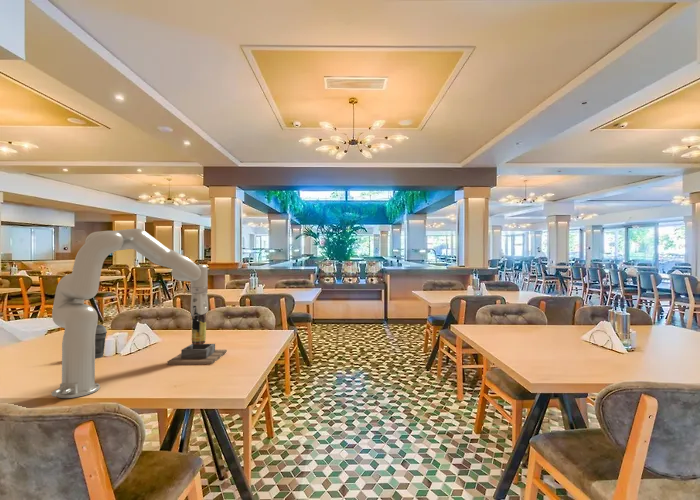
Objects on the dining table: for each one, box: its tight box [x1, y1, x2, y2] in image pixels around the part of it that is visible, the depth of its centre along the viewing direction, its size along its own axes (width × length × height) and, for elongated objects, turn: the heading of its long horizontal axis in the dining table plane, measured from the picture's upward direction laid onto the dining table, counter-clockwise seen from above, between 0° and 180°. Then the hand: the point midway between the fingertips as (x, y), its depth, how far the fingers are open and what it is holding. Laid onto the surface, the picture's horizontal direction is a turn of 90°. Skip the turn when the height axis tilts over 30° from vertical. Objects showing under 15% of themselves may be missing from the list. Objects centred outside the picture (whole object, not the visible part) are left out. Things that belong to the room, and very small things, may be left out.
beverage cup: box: [95, 324, 108, 359], centre depth 174 cm, size 7×7×20 cm
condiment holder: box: [166, 343, 228, 366], centre depth 171 cm, size 20×20×6 cm
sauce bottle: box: [191, 313, 207, 345], centre depth 172 cm, size 6×6×20 cm
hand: (199, 327), depth 172 cm, fingers closed on sauce bottle, 6 cm apart
